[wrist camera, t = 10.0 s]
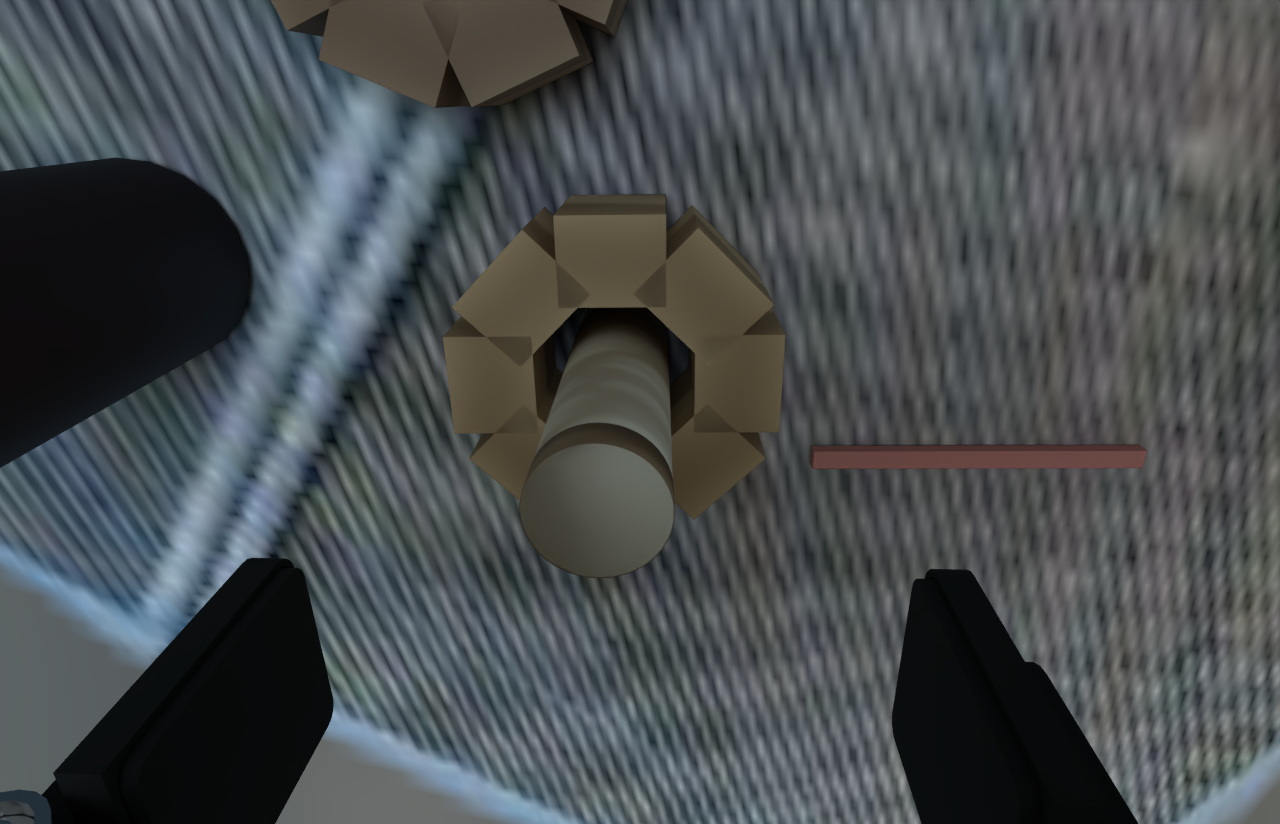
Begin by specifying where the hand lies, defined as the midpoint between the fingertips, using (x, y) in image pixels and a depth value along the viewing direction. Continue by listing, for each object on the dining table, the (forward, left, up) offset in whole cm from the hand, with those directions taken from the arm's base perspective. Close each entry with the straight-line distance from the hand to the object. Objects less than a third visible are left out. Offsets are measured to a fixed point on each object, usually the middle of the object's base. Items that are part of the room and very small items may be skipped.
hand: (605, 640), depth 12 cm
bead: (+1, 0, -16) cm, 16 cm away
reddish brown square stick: (-12, +5, -16) cm, 21 cm away
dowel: (0, 0, -16) cm, 16 cm away
